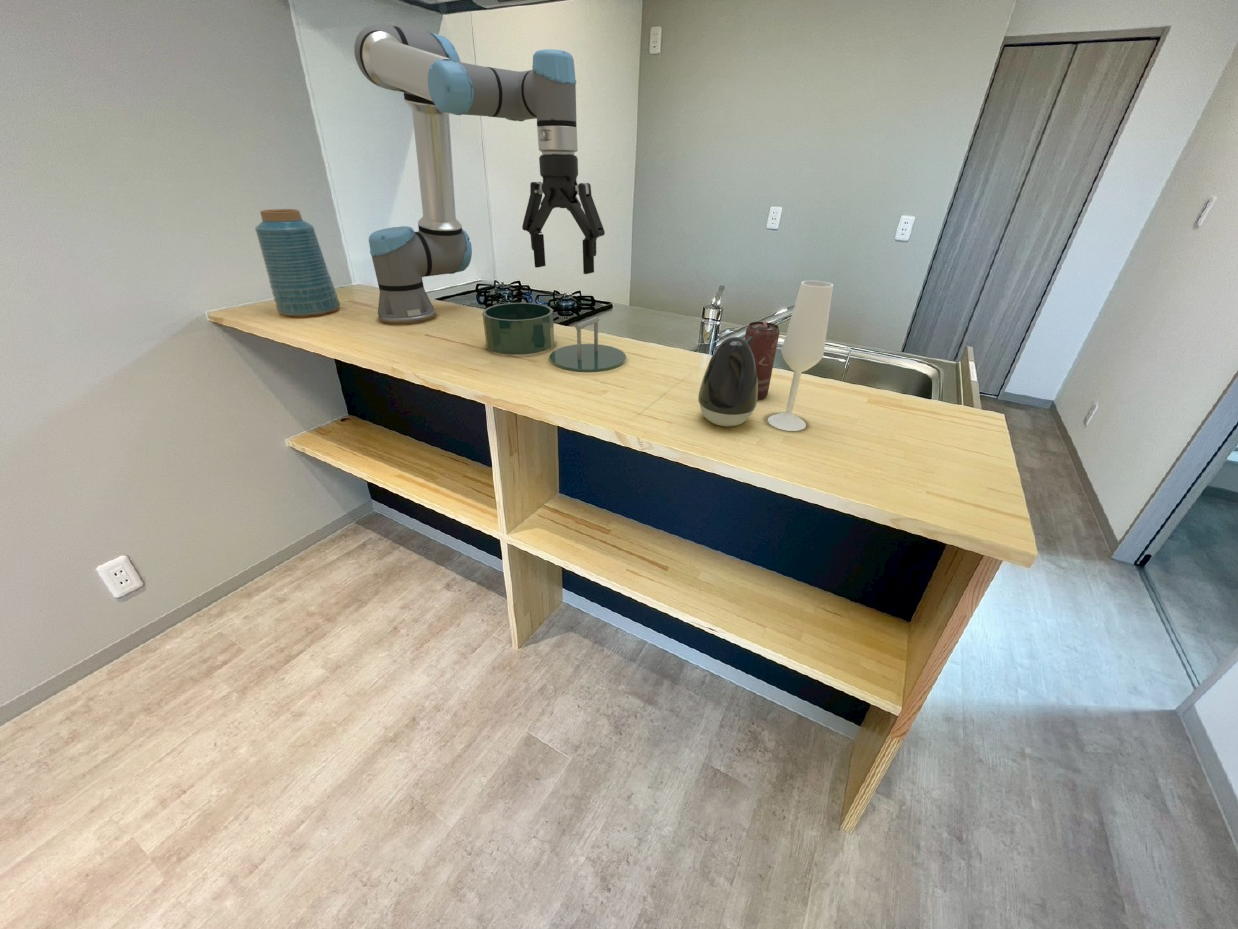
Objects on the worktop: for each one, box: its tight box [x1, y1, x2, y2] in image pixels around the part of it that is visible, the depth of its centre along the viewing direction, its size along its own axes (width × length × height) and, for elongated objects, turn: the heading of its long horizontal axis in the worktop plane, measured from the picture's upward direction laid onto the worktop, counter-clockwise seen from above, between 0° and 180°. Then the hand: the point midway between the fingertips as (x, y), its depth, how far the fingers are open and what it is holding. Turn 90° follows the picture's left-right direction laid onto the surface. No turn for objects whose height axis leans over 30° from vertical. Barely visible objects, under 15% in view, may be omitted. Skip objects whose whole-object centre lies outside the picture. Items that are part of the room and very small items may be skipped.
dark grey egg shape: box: [697, 336, 758, 428], centre depth 85 cm, size 10×10×15 cm
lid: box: [549, 316, 627, 373], centre depth 112 cm, size 18×18×9 cm
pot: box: [481, 302, 555, 356], centre depth 120 cm, size 17×17×8 cm
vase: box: [254, 208, 341, 319], centre depth 139 cm, size 16×16×27 cm
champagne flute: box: [767, 280, 834, 432], centre depth 82 cm, size 7×7×24 cm
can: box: [744, 320, 780, 401], centre depth 96 cm, size 6×6×14 cm
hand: (563, 269), depth 106 cm, fingers open, 13 cm apart
